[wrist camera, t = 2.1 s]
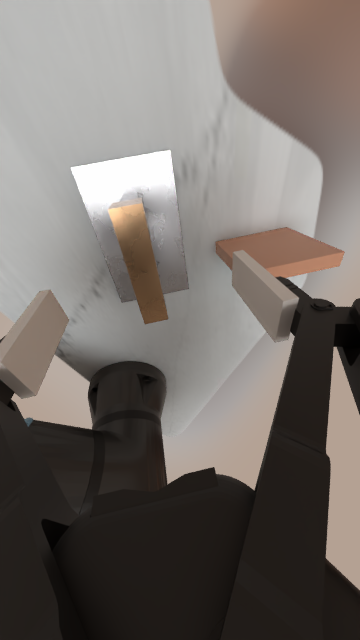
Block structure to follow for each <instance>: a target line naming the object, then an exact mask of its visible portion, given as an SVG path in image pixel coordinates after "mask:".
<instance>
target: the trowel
mask: <svg viewBox="0 0 360 640" xmlns="http://www.w3.org/2000/svg"><path fill="white" fill-rule="evenodd" d="M71 170H72V172H73V175H74V178H75V180H76V183H77V186H78V188H79V191H80V194H81V196H82V199H83V201H84V204H85V207H86V209H87V212H88V215H89V217H90V220H91V223H92V225H93V228H94V230H95V233H96V236H97V238H98V241H99V244H100V246H101V249H102V252H103V254H104V257H105V259H106V262H107V265H108V267H109V270H110V273H111V275H112V278H113V281H114V283H115V286H116V288H117V291H118V294H119V296H120V299H121V302H127V301H132V300H136V299H137V301H138V305H139V308H140V311H141V314H142V317H143V320H144V323H145V324H148V323H153V322H158V321H162V320H167V319H168V315H167V310H166V305H165V301H164V296H163V294H165V293H170V292H174V291H179V290H184V289H189V287H188V280H187V272H186V265H185V257H184V249H183V242H182V234H181V227H180V219H179V211H178V204H177V196H176V189H175V181H174V173H173V166H172V158H171V151H170V150H166V151H161V152H155V153H149V154H144V155H138V156H133V157H127V158H121V159H116V160H110V161H105V162H99V163H94V164H88V165H82V166H77V167H71Z"/></svg>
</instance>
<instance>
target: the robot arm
mask: <svg viewBox="0 0 360 640" xmlns="http://www.w3.org/2000/svg"><path fill="white" fill-rule="evenodd" d="M232 286H233V287H234V289H235V290H236V291H237V293H238V294H239V295H240V297H241V298H242V299H243V301H244V302H245V303H246V305H247V306H248V307H249V309H250V310H251V311H252V313H253V314H254V315H255V317H256V318H257V319H258V321H259V322H260V323H261V325H262V326H263V327H264V329H265V330H266V331H267V333H268V334H269V335H270V337H271V338H272V339H273V341H274V342H280V341H284V340H288V339H289V334H290V332H291V333H292V334H293V335H294V336H295V338H294V341H293V345H292V349H291V353H290V357H289V361H288V365H287V369H286V373H285V377H284V380H283V384H282V388H281V392H280V396H279V400H278V403H277V408H276V411H275V415H274V419H273V423H272V426H271V430H270V434H269V438H268V442H267V446H266V450H265V453H264V458H263V461H262V465H261V468H260V472H259V476H258V479H257V483H256V487H255V491H254V490H253V489H251V488H250V487H249V486H247V485H246V484H244V483H243V482H241V481H239V480H237V479H235V478H232V477H229V476H226V475H219V474H216V473H215V468H214V467H213V468H208V469H204V470H200V471H196V472H192V473H188V474H184V475H183V476H181V477H179V478H178V479H176V480H174V481H173V482H171V483H169V484H168V485H167V476H166V467H165V458H164V449H163V439H162V429H161V415H162V411H163V406H164V402H165V397H166V382H165V377H164V375H163V374H162V373H161V372H160V371H159V370H158V369H157V368H155V367H153V366H151V365H148V364H145V363H140V362H121V363H116V364H112V365H110V366H107V367H105V368H103V369H101V370H100V371H98V372H97V373H96V374H95V375H94V376H93V378H92V379H91V382H90V386H89V391H88V401H89V406H90V412H91V418H92V423H93V426H92V430H91V429H85V428H80V427H73V426H67V425H61V424H55V423H49V422H43V421H37V420H33V419H32V418H27V419H24V418H23V416H22V415H21V412H20V411H19V409H18V407H17V405H16V403H15V402H14V401H12V400H11V398H12V396H13V394H14V393H15V394H17V395H18V396H19V397H20V398H21V399H23V398H28V397H32V396H36V395H37V393H38V391H39V388H40V386H41V384H42V381H43V379H44V377H45V374H46V372H47V370H48V367H49V365H50V363H51V360H52V358H53V356H54V354H55V351H56V349H57V347H58V344H59V342H60V340H61V338H62V335H63V333H64V331H65V328H66V326H67V324H68V321H69V319H68V317H67V315H66V314H65V312H64V311H63V309H62V307H61V306H60V304H59V303H58V301H57V299H56V298H55V296H54V295H53V293H52V291H51V290H45V291H40V292H39V293H38V294H37V295H36V297H35V298H34V299H33V301H32V302H31V303H30V305H29V306H28V307H27V309H26V310H25V311H24V313H23V314H22V315H21V316H20V318H19V319H18V320H17V322H16V323H15V324H14V326H13V327H12V329H11V330H10V331H9V332H8V334H7V335H6V336H4V337H3V338H2V339H1V340H0V640H360V590H359V589H358V588H356V587H355V586H354V585H353V584H352V583H351V582H350V581H349V580H348V579H347V578H346V577H345V576H344V575H342V573H341V572H340V571H339V570H337V569H336V568H335V567H334V566H333V565H332V564H331V563H330V562H329V561H328V560H327V559H326V541H327V524H328V507H329V488H330V458H329V457H328V456H327V454H326V438H327V426H328V412H329V400H330V386H331V373H332V361H333V347H337V349H338V352H339V355H340V358H341V361H342V364H343V366H344V370H345V373H346V376H347V379H348V381H349V385H350V388H351V391H352V393H353V396H354V399H355V402H356V405H357V408H358V411H359V414H360V298H359V299H356V300H355V301H354V303H353V305H352V307H335V305H334V304H333V303H332V302H329V301H327V300H323V299H312V298H311V297H310V296H309V295H307V294H306V293H305V292H304V291H302V290H301V289H300V288H298V287H297V286H296V285H294V283H292V282H291V281H290V280H288V279H286V278H284V277H281V276H279V277H274V276H273V275H272V274H271V273H269V272H268V271H267V270H266V269H265V268H264V267H262V266H261V265H260V264H259V263H258V262H257V261H255V260H254V259H253V258H252V257H251V256H250V255H248V254H247V253H246V252H245V251H244V250H240V251H235V252H233V265H232Z"/></svg>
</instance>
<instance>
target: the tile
mask: <svg viewBox="0 0 360 640" xmlns="http://www.w3.org/2000/svg"><path fill="white" fill-rule="evenodd" d="M240 250H244V251H245V252H246V253H247V254H248V255H250V256H251V257H252V258H253V259H254V260H255V261H257V262H258V263H259V264H260V265H261V266H262V267H264V268H265V269H266V270H267V271H268V272H269V273H271V274H272V275H273V276H274V277H279V276H281V277H284V278H287V277H291V276H296V275H301V274H305V273H309V272H314V271H318V270H323V269H328V268H332V267H337V266H340V263H341V261H342V258H343V255H344V251H342V250H339V249H337V248H335V247H332V246H330V245H327V244H325V243H323V242H321V241H318V240H316V239H313V238H311V237H309V236H306V235H304V234H302V233H299V232H297V231H295V230H292V229H290V228H287V227H285V228H280V229H275V230H270V231H265V232H261V233H256V234H251V235H246V236H241V237H236V238H232V239H227V240H222V241H217V242H216V253H217V254H218V256H219V257H220V258H221V259H222V260H223V261H224V262H225V263H226V265H227V266H228V267H229V268H230V269H231V270H232V265H233V252H235V251H240Z"/></svg>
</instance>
